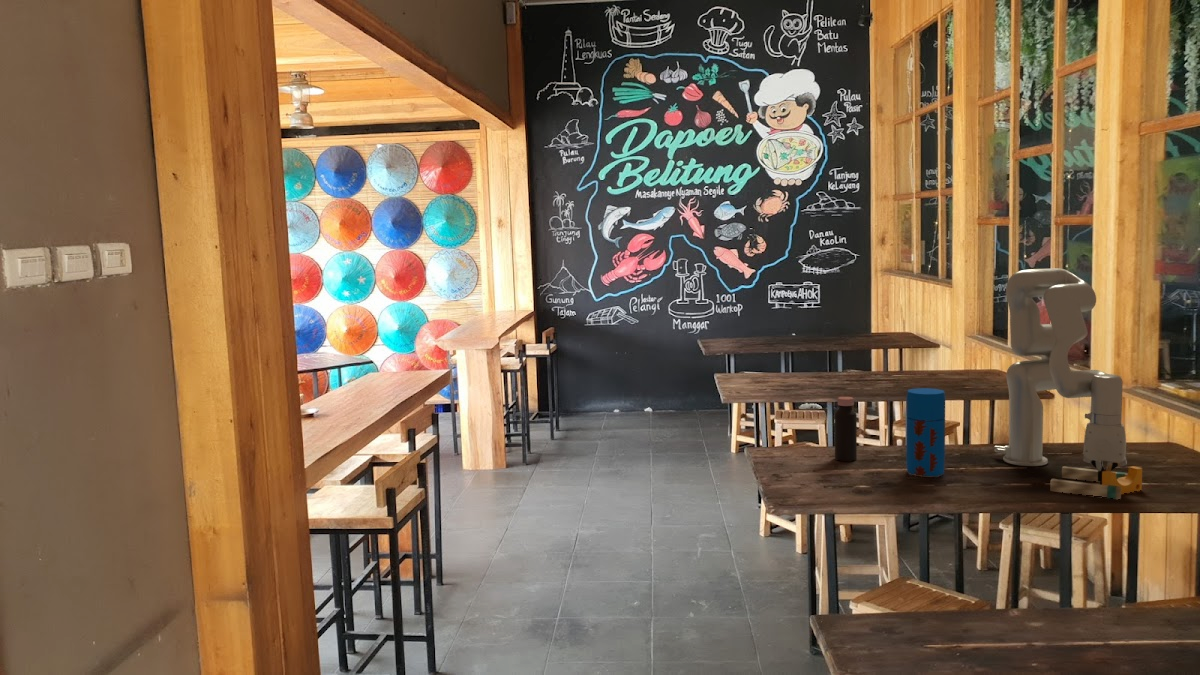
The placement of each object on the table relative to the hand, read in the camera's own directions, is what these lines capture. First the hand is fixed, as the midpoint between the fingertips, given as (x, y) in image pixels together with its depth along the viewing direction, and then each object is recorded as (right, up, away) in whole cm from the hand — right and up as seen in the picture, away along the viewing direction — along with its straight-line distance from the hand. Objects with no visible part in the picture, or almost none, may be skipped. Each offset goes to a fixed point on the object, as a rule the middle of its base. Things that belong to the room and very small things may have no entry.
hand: (1104, 484), depth 261 cm
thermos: (-42, 0, +23) cm, 47 cm away
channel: (-3, -1, +2) cm, 4 cm away
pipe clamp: (+3, -2, -3) cm, 4 cm away
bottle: (-60, +1, +43) cm, 74 cm away
